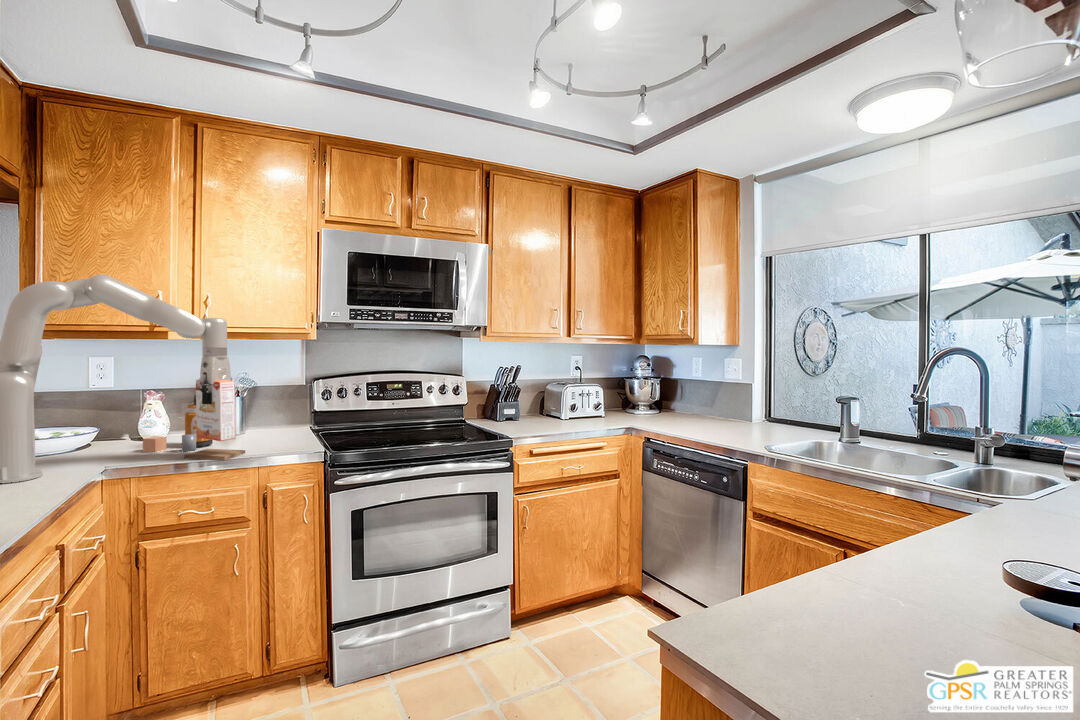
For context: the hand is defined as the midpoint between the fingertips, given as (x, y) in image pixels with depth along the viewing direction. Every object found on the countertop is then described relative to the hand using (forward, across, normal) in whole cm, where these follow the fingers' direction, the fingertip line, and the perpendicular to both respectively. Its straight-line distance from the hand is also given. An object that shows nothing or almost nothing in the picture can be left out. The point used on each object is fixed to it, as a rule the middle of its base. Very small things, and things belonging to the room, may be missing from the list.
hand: (215, 402), depth 192 cm
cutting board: (+19, 0, 0) cm, 19 cm away
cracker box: (+13, 0, 0) cm, 13 cm away
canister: (+19, +16, +19) cm, 31 cm away
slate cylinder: (+19, +6, +15) cm, 25 cm away
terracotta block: (+19, +4, +27) cm, 33 cm away
